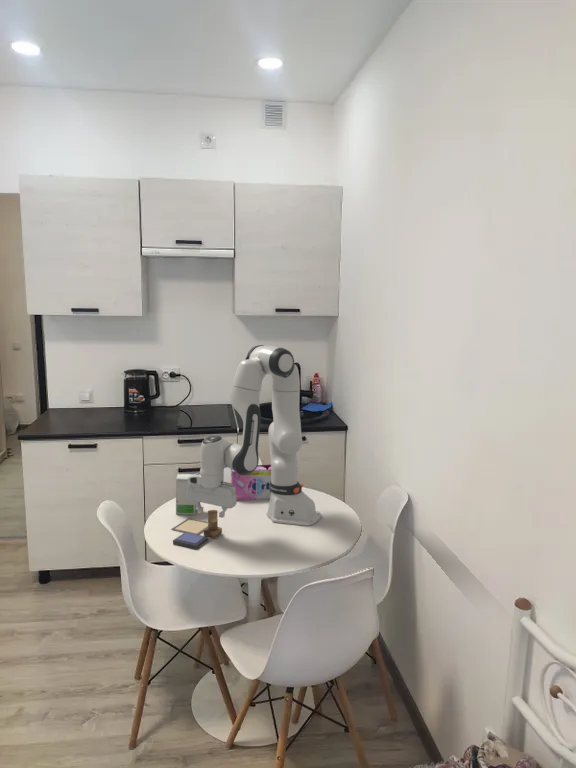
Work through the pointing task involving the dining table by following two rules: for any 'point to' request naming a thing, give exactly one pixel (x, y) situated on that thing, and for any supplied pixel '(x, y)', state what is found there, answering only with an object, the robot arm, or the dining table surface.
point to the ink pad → (190, 540)
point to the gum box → (252, 483)
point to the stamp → (212, 525)
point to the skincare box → (184, 496)
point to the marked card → (191, 526)
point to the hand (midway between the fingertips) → (211, 514)
